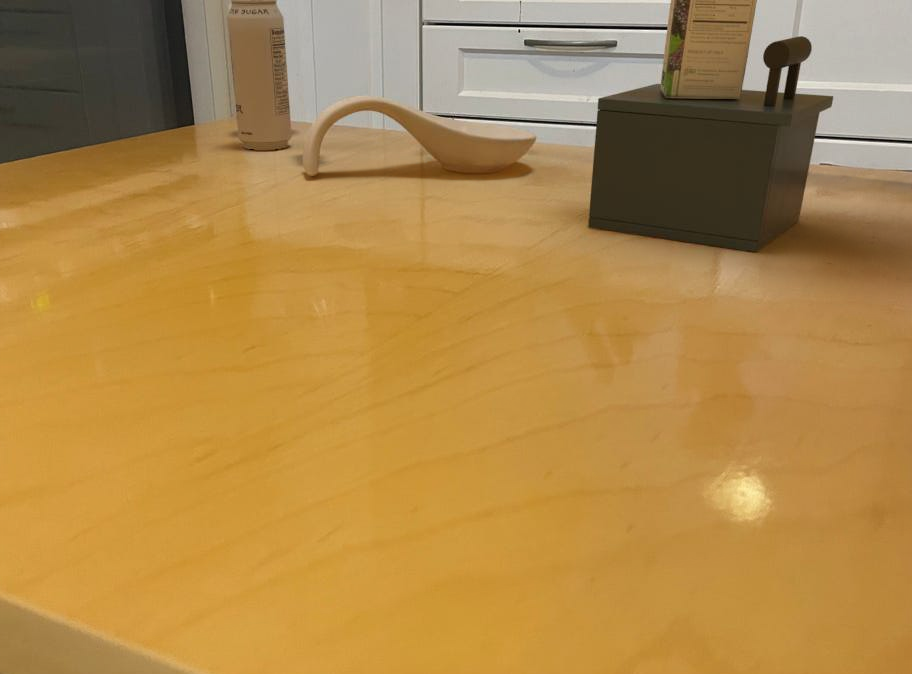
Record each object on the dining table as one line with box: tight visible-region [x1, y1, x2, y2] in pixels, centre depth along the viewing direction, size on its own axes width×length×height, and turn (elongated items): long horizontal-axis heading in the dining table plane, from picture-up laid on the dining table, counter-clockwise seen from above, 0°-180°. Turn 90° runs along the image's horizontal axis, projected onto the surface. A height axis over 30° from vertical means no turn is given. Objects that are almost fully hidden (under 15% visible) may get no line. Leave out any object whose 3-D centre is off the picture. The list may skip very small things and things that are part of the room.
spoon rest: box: [302, 94, 537, 177], centre depth 94 cm, size 24×12×7 cm, turn 104°
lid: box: [597, 35, 834, 126], centre depth 71 cm, size 14×12×5 cm
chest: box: [587, 109, 821, 253], centre depth 74 cm, size 14×12×9 cm
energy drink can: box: [226, 0, 292, 151], centre depth 105 cm, size 6×6×15 cm
